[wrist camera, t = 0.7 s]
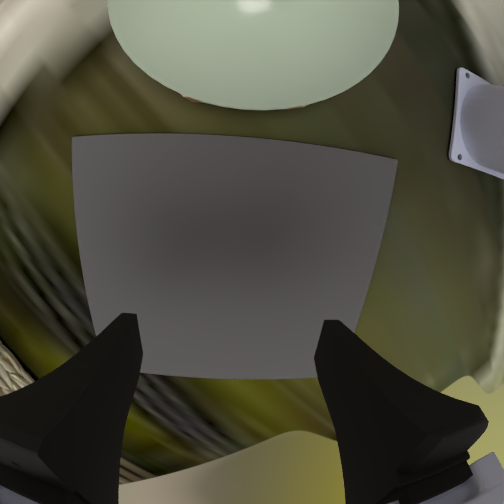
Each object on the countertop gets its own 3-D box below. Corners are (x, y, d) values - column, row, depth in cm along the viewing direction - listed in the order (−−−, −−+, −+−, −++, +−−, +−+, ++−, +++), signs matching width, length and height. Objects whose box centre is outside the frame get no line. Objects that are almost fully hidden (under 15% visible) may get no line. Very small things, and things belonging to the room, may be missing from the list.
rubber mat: (394, 158, 19) (398, 160, 19) (336, 371, 27) (337, 375, 27) (75, 136, 17) (72, 137, 16) (106, 363, 25) (104, 367, 24)
